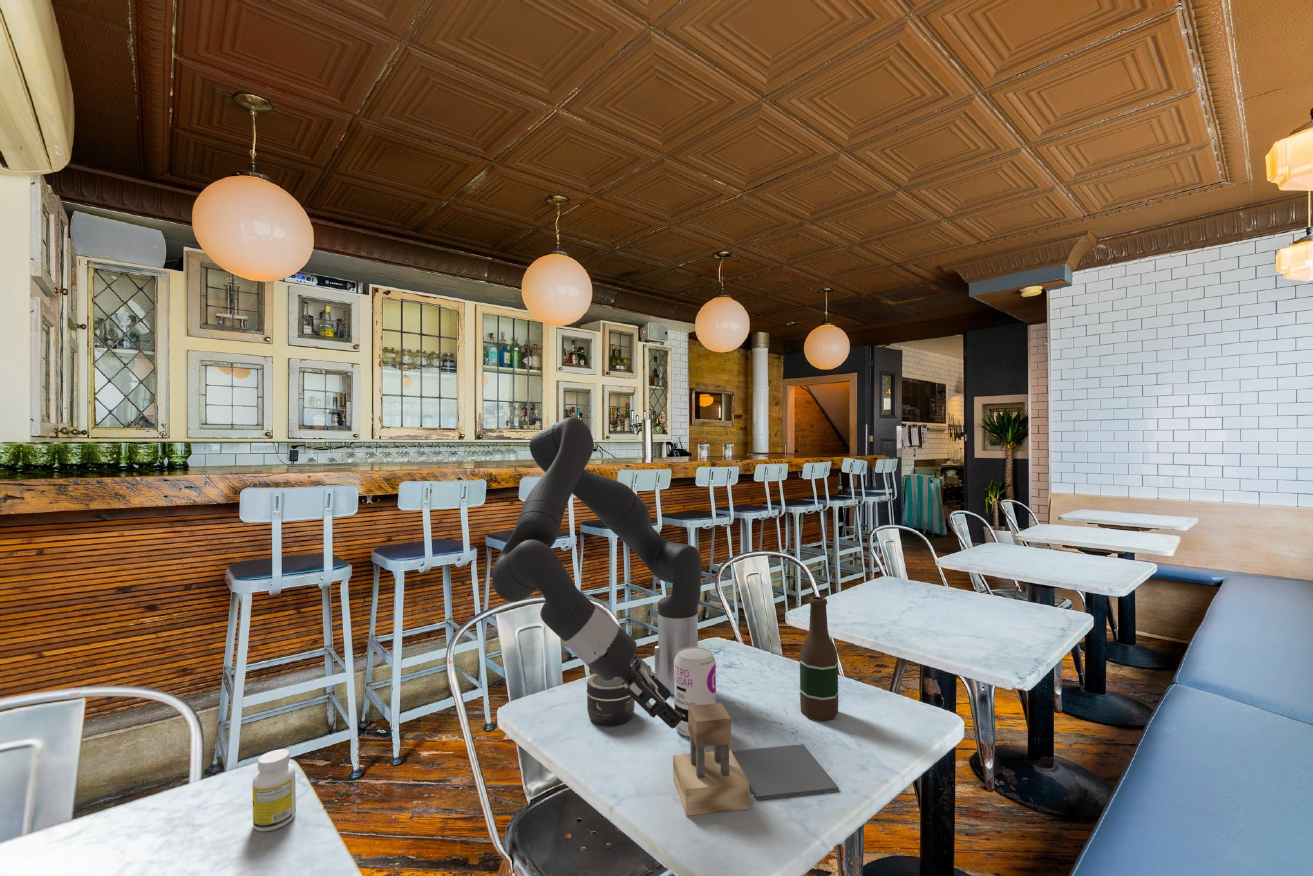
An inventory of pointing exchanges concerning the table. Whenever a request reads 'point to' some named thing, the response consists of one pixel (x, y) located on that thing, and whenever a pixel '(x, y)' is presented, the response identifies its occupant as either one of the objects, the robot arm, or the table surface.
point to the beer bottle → (818, 667)
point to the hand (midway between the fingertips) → (672, 710)
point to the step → (710, 785)
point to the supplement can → (693, 682)
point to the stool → (709, 735)
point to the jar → (608, 701)
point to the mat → (783, 772)
